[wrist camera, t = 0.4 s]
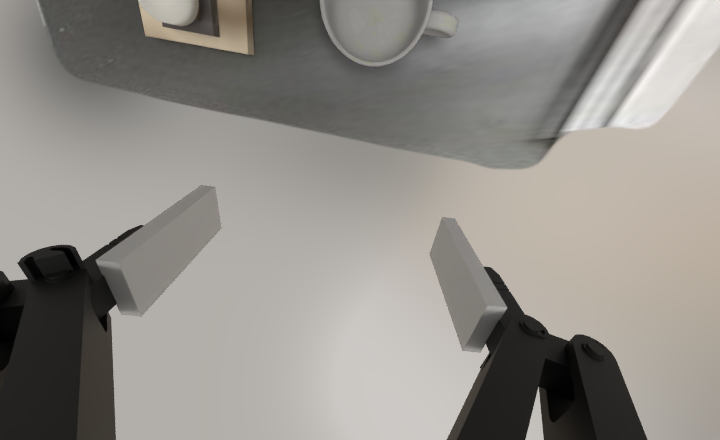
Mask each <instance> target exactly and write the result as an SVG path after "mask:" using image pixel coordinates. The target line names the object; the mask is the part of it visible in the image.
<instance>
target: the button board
mask: <svg viewBox="0 0 720 440" xmlns="http://www.w3.org/2000/svg"><path fill="white" fill-rule="evenodd" d="M138 2H139V1H138ZM139 7H140V11H141V16H142V21H143V26H144V31H145V36H150V37H155V38H161V39H166V40H172V41H177V42H183V43H188V44H194V45H199V46H205V47H210V48H216V49H221V50H227V51H232V52H238V53H243V54H249V55H254V38H253V11H252V0H199V9H198V14H197V16H196V18H195V20H194V21H193V22H192V23H191V24H189V25H186V26H176V25H172V24H168V23H164V22H161V21H158V20H156V19H155V18H153V17H152V16H151V15H149V14H148V13H147V12H146V11H145V9H144V8H143V7H142V6H141V4H140V3H139Z"/></svg>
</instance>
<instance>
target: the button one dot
mask: <svg viewBox="0 0 720 440" xmlns="http://www.w3.org/2000/svg"><path fill="white" fill-rule="evenodd" d="M138 1H139V3H140V4H141V6H142V7H143V8H144V9H145V11H146V12H147V13H148V14H149V15H151V16H152V17H153V18H155V19H156V20H158V21H161V22H164V23H168V24H172V25H176V26H186V25H189V24H191V23H192V22H193V21H194V20H195V18H196V16H197V14H198V9H199V0H138Z"/></svg>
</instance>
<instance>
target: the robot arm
mask: <svg viewBox="0 0 720 440" xmlns="http://www.w3.org/2000/svg"><path fill="white" fill-rule="evenodd" d="M220 229H221V222H220V216H219V209H218V202H217V196H216V190H215V187H211V186H203V185H201V186H199V187H198V188H197V189H195V190H194V191H192V192H191V193H190V194H188V195H187V196H185V197H184V198H183V199H181V200H180V201H178V202H177V203H176V204H174V205H173V206H171V207H170V208H168V209H167V210H166V211H164V212H163V213H161V214H160V215H159V216H157V217H156V218H154V219H153V220H151V221H150V222H149V223H147V224H146V225H144V226H143V225H140V226H138V227H135V228H133V229H130V230H128V231H126V232H125V233H123V234H122V235H120V236H119V237H118V238H117V239H114V240H113V241H111V242H110V243H109V245H106V246H104V247H103V248H101V249H100V250H98V251H97V252H95V253H94V254H92V255H91V256H89V257H88V258H87V259H85V260H83V261H82V260H81V258H80V256H79V254H78V252H77V250H76V248H75V247H73V246H70V245H56V246H50V247H46V248H42V249H39V250H36V251H34V252H31V253H29V254H28V255H26V256H24V257H23V258H21V260H20V261H19V262H18V264H19V266H20V268H21V269H22V271H23V272H24V274H25V275H26V277H27V278H28V279H26V280H15V281H9V280H8V278H7V277H6V275H5V274H4V273H3V272H2V271H0V440H116V435H115V409H114V383H113V357H112V332H111V317H110V315H109V313H108V311H109V310H110V309H112V307H114V306H115V305H117V307H118V309H119V311H120V313H121V315H130V316H140V317H141V316H142V315H143V314H144V313H145V312H146V311H147V310H148V308H150V306H151V305H152V304H153V303H154V302H155V301H156V300H157V299H158V298H159V297H160V295H161V294H162V293H163V292H164V291H165V290H166V289H167V288H168V287H169V285H170V284H171V283H172V282H173V281H174V280H175V279H176V278H177V277H178V275H179V274H180V273H181V272H182V271H183V270H184V269H185V268H186V267H187V266H188V264H189V263H190V262H191V261H192V260H193V259H194V258H195V257H196V256H197V255H198V253H199V252H200V251H201V250H202V249H203V248H204V247H205V246H206V245H207V244H208V242H209V241H210V240H211V239H212V238H213V237H214V235H216V234H217V232H218V231H219V230H220ZM430 257H431V259H432V262H433V265H434V268H435V271H436V274H437V277H438V280H439V283H440V286H441V289H442V292H443V294H444V298H445V301H446V303H447V306H448V309H449V312H450V315H451V318H452V321H453V324H454V327H455V330H456V333H457V336H458V338H459V341H460V344H461V347H462V350H463V351H471V352H481V350H482V349H483V347H484V345H485V344H486V345H487V347H488V350H489V352H490V353H489V355H488V356H487V357H486V359H485V361H484V362H483V364H482V365H481V367H480V368H481V370H480V372H479V374H478V376H477V378H476V380H475V383H474V384H473V387H472V389H471V391H470V393H469V395H468V397H467V399H466V401H465V403H464V405H463V408H462V409H461V412H460V414H459V416H458V418H457V420H456V422H455V424H454V426H453V428H452V430H451V432H450V435H449V436H448V439H447V440H525V438H526V434H527V430H528V426H529V422H530V418H531V414H532V410H533V406H534V402H535V398H536V394H537V390H538V387H539V392H540V403H541V413H542V423H543V434H544V440H647V438H646V435H645V433H644V430H643V427H642V425H641V422H640V420H639V417H638V415H637V412H636V410H635V407H634V404H633V402H632V399H631V397H630V394H629V392H628V389H627V387H626V384H625V381H624V379H623V376H622V374H621V371H620V369H619V366H618V364H617V361H616V359H615V357H614V356H613V354H612V353H611V352H610V351H609V350H608V349H607V348H606V347H605V346H604V345H603V344H601V343H599V342H598V341H596V340H595V339H593V338H591V337H588V336H585V335H575V336H574V337H573V338H572V339H571V340H570V341H567V340H564V339H562V338H559V337H556V336H553V335H550V334H549V333H548V331H547V329H546V328H545V327H544V326H543V325H542V324H541V323H540V322H539V321H537V320H536V319H534V318H532V317H530V316H528V315H525V314H524V313H523V311H522V310H521V308H520V306H519V305H518V304H517V302H516V300H515V299H514V297H513V296H512V294H511V293H510V292H509V289H508V288H507V286H506V285H504V282H503V280H502V279H501V277H500V275H499V274H497V273H496V272H495V271H494V270H493V269H492V268H490V267H483V266H482V264H481V262H480V260H479V259H478V257H477V256H476V254H475V252H474V250H473V249H472V247H471V245H470V244H469V242H468V240H467V238H466V237H465V235H464V233H463V232H462V230H461V228H460V227H459V225H458V223H457V222H456V220H455V219H453V218H445V217H442V219H441V222H440V225H439V228H438V231H437V234H436V237H435V240H434V243H433V246H432V249H431V252H430Z"/></svg>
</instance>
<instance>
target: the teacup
mask: <svg viewBox="0 0 720 440" xmlns="http://www.w3.org/2000/svg"><path fill="white" fill-rule="evenodd" d="M432 4H433V0H320V9H321V15H322V19H323V22H324V25H325V28H326V30H327V32H328V34H329V36H330V38H331V40H332V41H333V43H334V44H335V46H336V47H337V48H338V49H339V50H340V51H341V52H342V54H344V55H345V56H346V57H347V58H349V59H350V60H352V61H354V62H356V63H358V64H360V65H363V66H367V67H381V66H385V65H389V64H391V63H393V62H395V61H397V60H399V59H401V58H402V57H404V56H405V55H406V54H407V53H408V52H410V51H411V50H412V48H413V47H414V46H415V45H416V43H417V42H418V41H419V39H420V38H421V36H422V34H425V35H430V36H436V37H442V38H450V37H452V36H453V35H454V34H455V32H456V30H457V27H458V19H457V17H456V16H454V15H452V14H450V13H447V12H443V11H437V10H432Z"/></svg>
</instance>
